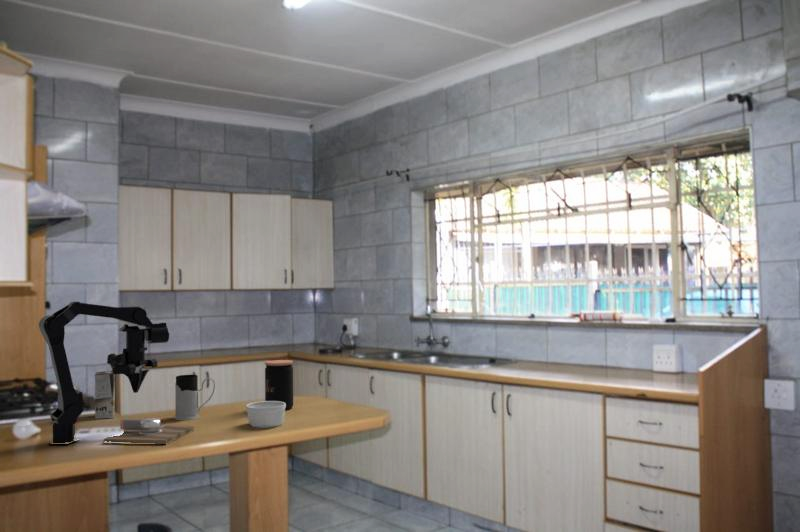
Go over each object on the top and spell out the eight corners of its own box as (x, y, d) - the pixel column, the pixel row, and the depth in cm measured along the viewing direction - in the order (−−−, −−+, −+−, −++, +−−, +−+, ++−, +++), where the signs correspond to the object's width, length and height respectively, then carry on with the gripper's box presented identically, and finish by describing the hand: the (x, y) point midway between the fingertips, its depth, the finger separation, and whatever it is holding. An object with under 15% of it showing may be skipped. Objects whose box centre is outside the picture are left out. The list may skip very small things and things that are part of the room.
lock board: (165, 445, 207) (165, 439, 207) (103, 443, 209) (103, 438, 209) (194, 430, 226) (194, 425, 226) (136, 429, 229) (136, 424, 229)
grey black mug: (173, 416, 250) (172, 375, 250) (213, 413, 255) (212, 372, 256) (175, 421, 242) (175, 378, 242) (216, 417, 247) (216, 375, 247)
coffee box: (114, 418, 249) (113, 373, 249) (94, 419, 246) (94, 374, 247) (114, 413, 257) (114, 370, 257) (96, 414, 255) (96, 371, 255)
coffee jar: (263, 407, 267) (263, 360, 267) (291, 405, 270) (290, 359, 270) (266, 412, 256) (266, 363, 257) (295, 410, 260) (295, 362, 260)
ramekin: (255, 430, 226) (254, 409, 226) (240, 423, 237) (240, 403, 237) (292, 425, 233) (292, 404, 233) (276, 419, 244) (276, 399, 244)
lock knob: (163, 428, 221) (163, 418, 221) (155, 432, 215) (155, 422, 215) (126, 428, 222) (126, 417, 222) (117, 432, 216) (117, 421, 216)
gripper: (127, 342, 235) (127, 387, 235) (96, 347, 217) (96, 397, 217) (158, 342, 234) (158, 388, 234) (129, 347, 215) (129, 397, 215)
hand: (135, 392), depth 225 cm, fingers closed
